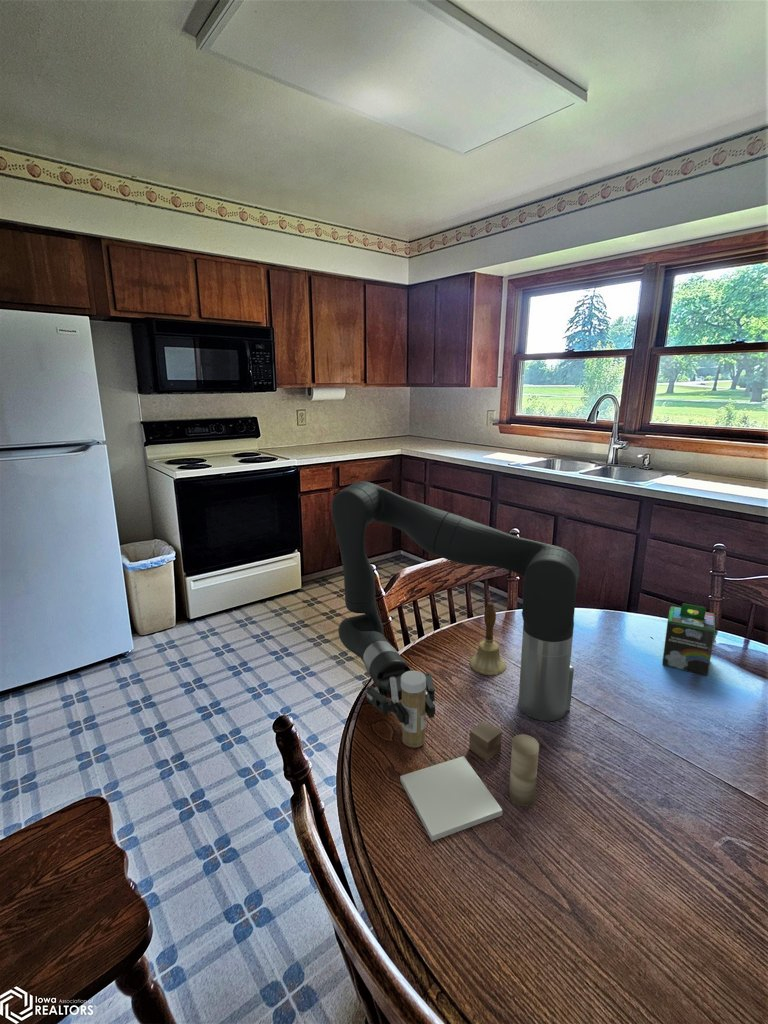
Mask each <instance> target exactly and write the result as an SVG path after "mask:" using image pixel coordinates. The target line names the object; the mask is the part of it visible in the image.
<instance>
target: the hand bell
mask: <svg viewBox="0 0 768 1024" xmlns="http://www.w3.org/2000/svg"><path fill="white" fill-rule="evenodd" d="M496 612H497V611H496V608H495V606H494V603H493V602H492V601H489V602H487V604H486V607H485V610H484V612H483V613H484V614H483V618H484V619H483V620H484V625H485V640H481V641H480V643H479V645H478V649H477V652H476V654H475V655H474V656H473V657H471V658H470V661H469V665H470V668H471V669H472V670H473V671H474V672H477V673H478V674H481V675H484V676H498V675H500V674H503V673H504V672H505V671H506V670H507V664H506V662H505V661H504V659H503V658H502V657H501V655H500V645H499V644H498V643H497V641H494V626H495V623H496V620H497V613H496Z"/></svg>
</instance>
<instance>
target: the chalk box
mask: <svg viewBox="0 0 768 1024" xmlns="http://www.w3.org/2000/svg"><path fill="white" fill-rule="evenodd" d="M715 621H716V616H715V613H713V612H708V611H707V608H706V607H705V606H701V605H695V604H690V603H682V604H681V605H680V607H678V606H670V607H669V611H668V616H667V622H666V624H667V625H666V630H665V637H664V638H665V640H664V646H663V647H664V648H663V655H662V666H666V667H670V668H674V669H677V670H683V671H686V672H690V673H694V674H696V675H702V676H705V677H707V676H708V675H709V670H710V663H711V657H712V651H713V645H714V638H715V633H716V622H715Z"/></svg>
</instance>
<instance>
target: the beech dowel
mask: <svg viewBox="0 0 768 1024" xmlns="http://www.w3.org/2000/svg"><path fill="white" fill-rule="evenodd" d="M539 750H540V743H539V742H538V740H537V739H535V738H534V737H533V736H531V735H529V734H521V733H520V734H517V735H515V736H514V737H513V738H512V740H511V752H510V753H511V756H510V771H509V773H510V774H509V790H508V794H509V795H508V797H509V798H510V800H511V801H512V802H513V803H514V804H516V805H518V806H521V807H528V806H531V805H533V804H534V802H535V800H536V790H537V789H536V788H537V787H536V786H537V776H538V763H539V762H538V761H539Z"/></svg>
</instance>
